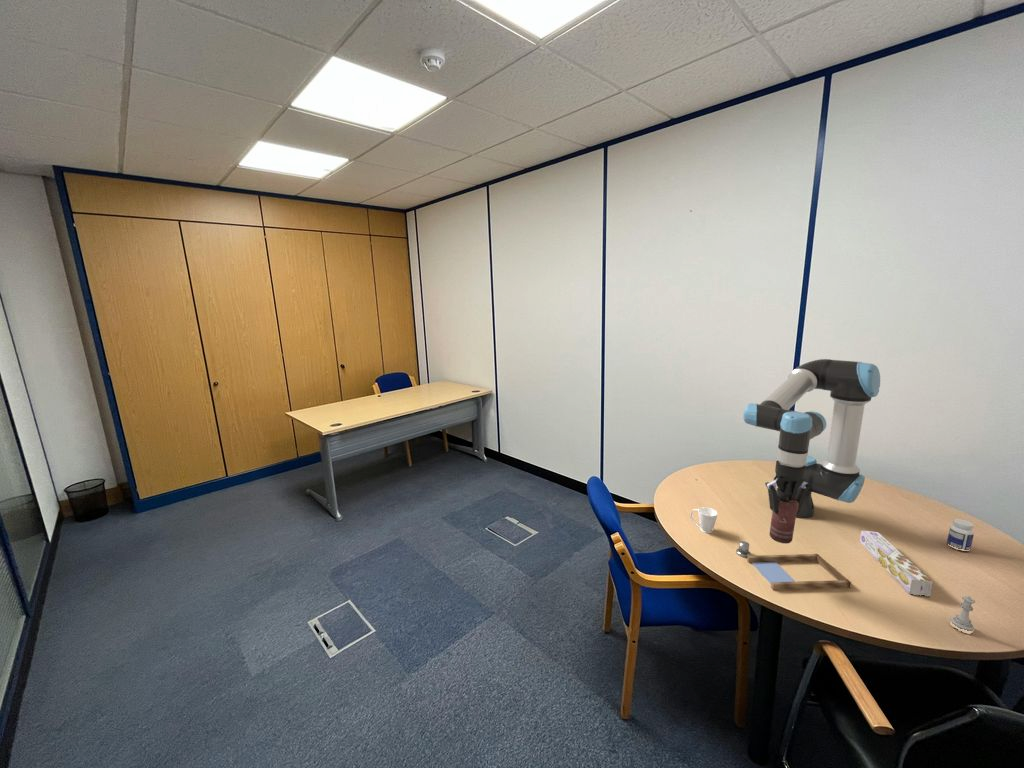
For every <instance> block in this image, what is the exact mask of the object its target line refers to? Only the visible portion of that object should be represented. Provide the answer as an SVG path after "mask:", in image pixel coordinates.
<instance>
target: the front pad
mask: <svg viewBox="0 0 1024 768" xmlns="http://www.w3.org/2000/svg"><path fill="white" fill-rule="evenodd" d="M751 565H753V567H755V568H756V569H757V570H758V572H759V573H760V574H761V576H763V577H764V578H765V579H766V580H767V582H768V583H769V584H770V585H771V583H772V582H796V580H794V578H793V577H791V575H790V574H789V573H788V572H787V571H786V570H785V569H784V568H783V567H781V565H780V564H778V562H754V563H751Z"/></svg>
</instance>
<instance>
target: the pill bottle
mask: <svg viewBox="0 0 1024 768" xmlns="http://www.w3.org/2000/svg"><path fill="white" fill-rule="evenodd" d="M952 523H953V524H952V525H950V526H949V529H948V530H949V531H948V535H947V539H946V540H947V541H946V544H947V543H948V544H949V545H951V546H953V547H956V548H958V549H964V550H969V549H970V550H971V548H972V545H973V540H974V535H975V532H974V530H973V529H974V523H972V522H971V521H968V520H964V519H961V518H955V519H953V522H952Z"/></svg>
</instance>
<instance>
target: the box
mask: <svg viewBox="0 0 1024 768" xmlns="http://www.w3.org/2000/svg"><path fill="white" fill-rule="evenodd" d="M860 543H861V544H862V545H863V546H864V547H865V548H866V549H867V550H868V551H869V552H870V553H871V554H872V555H873V556H872V555H871V554H870V553H869V552H868V551H867V550H866V549H865V548H864V547H863V546H862V545H861V544H860ZM859 544H860V545H861V546H862V547H863V548H864V549H865V550H866V551H867V552H868V553H869V554H870V555H871V556H872V558H874V557H875V558H876V559H877V560H876V559H875V558H874V559H875V560H876V561H877V562H878V561H879V562H880V563H879V562H878V563H879V565H881V564H882V565H881V566H882V568H883V569H885V571H887V573H888V574H889V573H890V574H891V575H892V576H893V577H894V578H895V579H896V580H897V581H898V582H899V583H900V584H901V585H902V586H903V587H902V586H901V585H900V584H899V583H898V582H897V581H896V580H895V579H894V578H893V577H892V576H891V575H890V574H889V575H890V576H891V577H892V578H893V579H894V580H895V581H896V582H897V583H898V584H899V585H900V586H901V587H902V588H903V589H904V590H905V592H907V593H908V594H909V593H910V594H909V595H911V594H913V595H912V596H918V595H920V596H921V595H925V596H924V597H928V596H930V597H931V595H932V594H931V593H932V588H933V584H934V583H933V581H932V580H931V579H930V578H929V577H928V576H927V575H926V574H925V573H923V572H922V571H921V570H920V569H919V568H918V567H917V566H916V565H915V564H913V562H912V561H910V560H909V558H907V557H906V556H905V555H904V554H903V553H902V552H900V551H899V550H898V549H897V548H896V546H894V545H893V544H892V543H891V542H889V541H888V540H887V538H885V537H884V536H883V535H882V534H881V533H879V532H878V531H869V530H861V531H860V538H859Z"/></svg>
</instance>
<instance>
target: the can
mask: <svg viewBox="0 0 1024 768" xmlns="http://www.w3.org/2000/svg"><path fill="white" fill-rule="evenodd" d="M777 496H778V495H777ZM777 499H778V498H777ZM798 505H799V503H798V502H797V500H796V499H795V501H794V500H793V501H789V500H788V499H787V500H786V502H783V501H781V500H779V499H778V508H779V512H778V513H777V514H776V513H775V512H774V511H772V510H771V511H772V512H771V520H770V527H769V537H770V538H771V540H773V541H775V542H776V543H781V544H790V543H792V541H793V538H794V532H795V524H796V518H797V517H796V512H797V511H798Z"/></svg>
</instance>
